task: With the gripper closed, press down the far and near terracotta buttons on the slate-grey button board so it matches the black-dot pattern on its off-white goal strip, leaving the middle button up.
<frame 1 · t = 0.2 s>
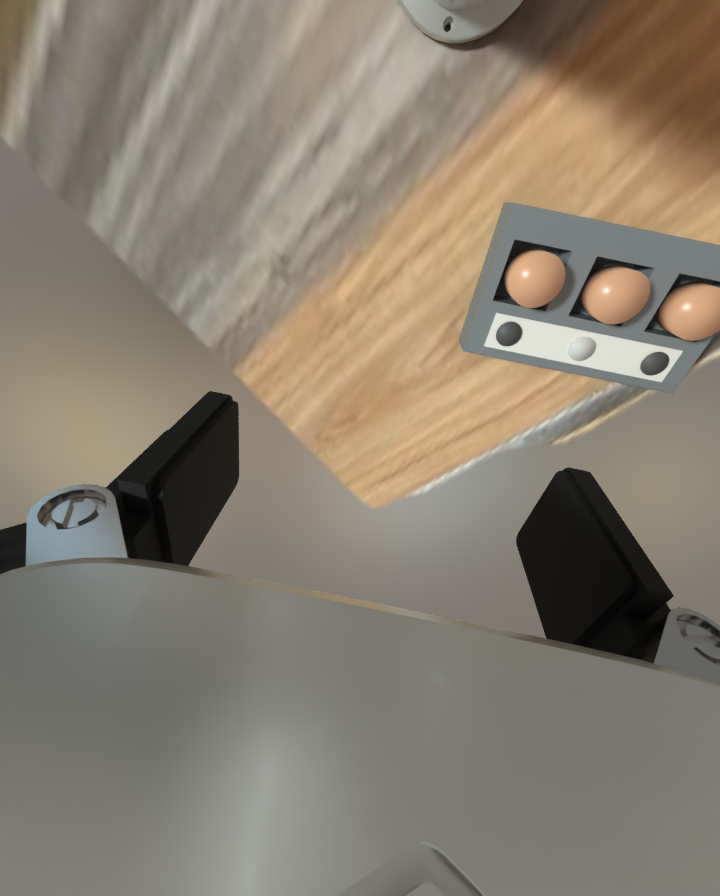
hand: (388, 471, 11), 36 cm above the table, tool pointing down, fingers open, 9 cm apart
button b: (613, 294, 36), point 5 cm above the table, slide at 0.0 cm
button a: (532, 278, 36), point 5 cm above the table, slide at 0.0 cm
button c: (693, 311, 36), point 5 cm above the table, slide at 0.0 cm
button board: (585, 299, 40), on the table
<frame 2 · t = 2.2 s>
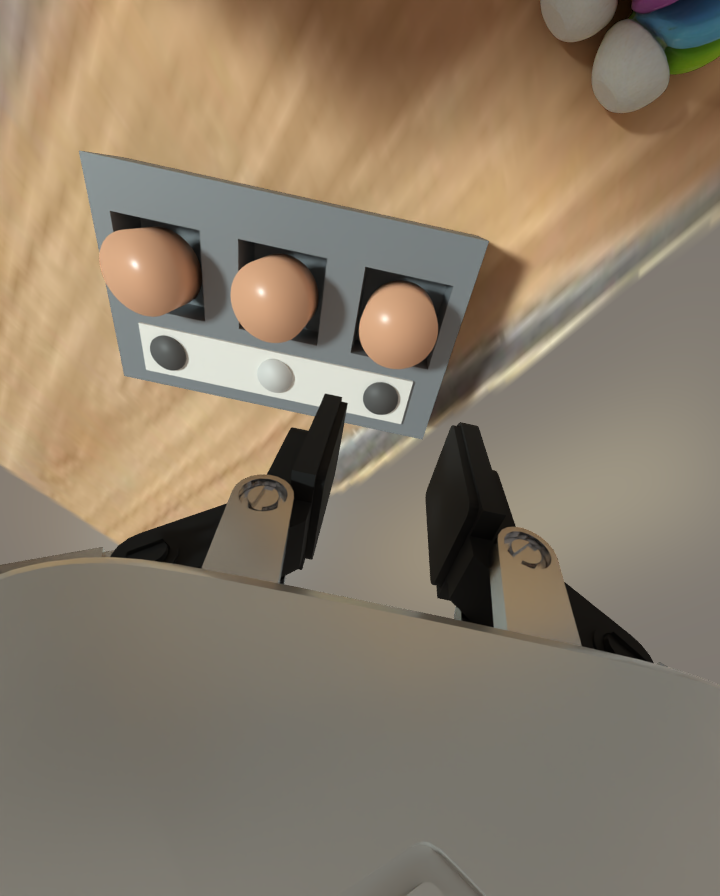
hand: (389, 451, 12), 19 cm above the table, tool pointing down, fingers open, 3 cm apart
button b: (276, 298, 24), point 5 cm above the table, slide at 0.0 cm
button a: (154, 271, 23), point 5 cm above the table, slide at 0.0 cm
button c: (398, 324, 24), point 5 cm above the table, slide at 0.0 cm
button board: (293, 305, 28), on the table
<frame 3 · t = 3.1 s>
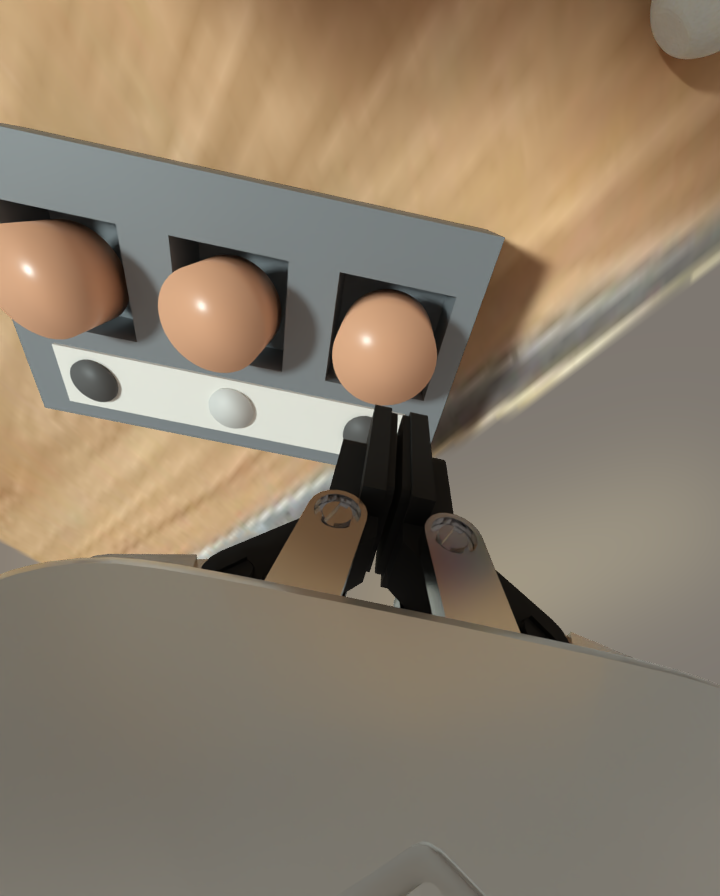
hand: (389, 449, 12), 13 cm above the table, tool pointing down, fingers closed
button b: (224, 314, 18), point 5 cm above the table, slide at 0.0 cm
button a: (59, 279, 18), point 5 cm above the table, slide at 0.0 cm
button c: (385, 347, 18), point 5 cm above the table, slide at 0.0 cm
button board: (255, 317, 23), on the table
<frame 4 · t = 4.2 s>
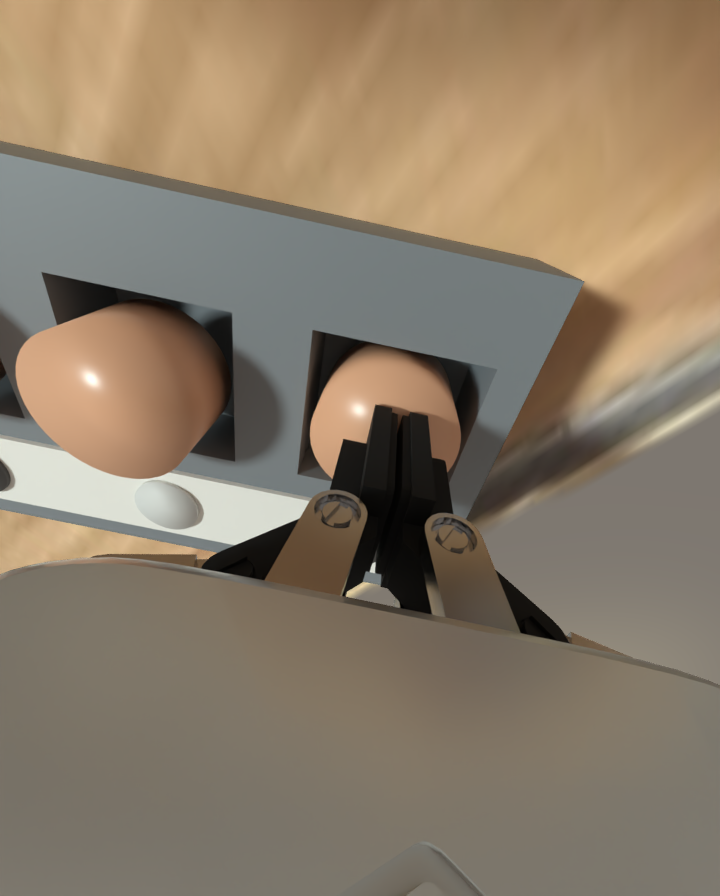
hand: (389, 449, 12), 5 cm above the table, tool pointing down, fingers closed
button b: (138, 389, 12), point 5 cm above the table, slide at 0.0 cm
button c: (385, 418, 13), point 3 cm above the table, slide at 1.5 cm, touching gripper
button board: (206, 373, 16), on the table
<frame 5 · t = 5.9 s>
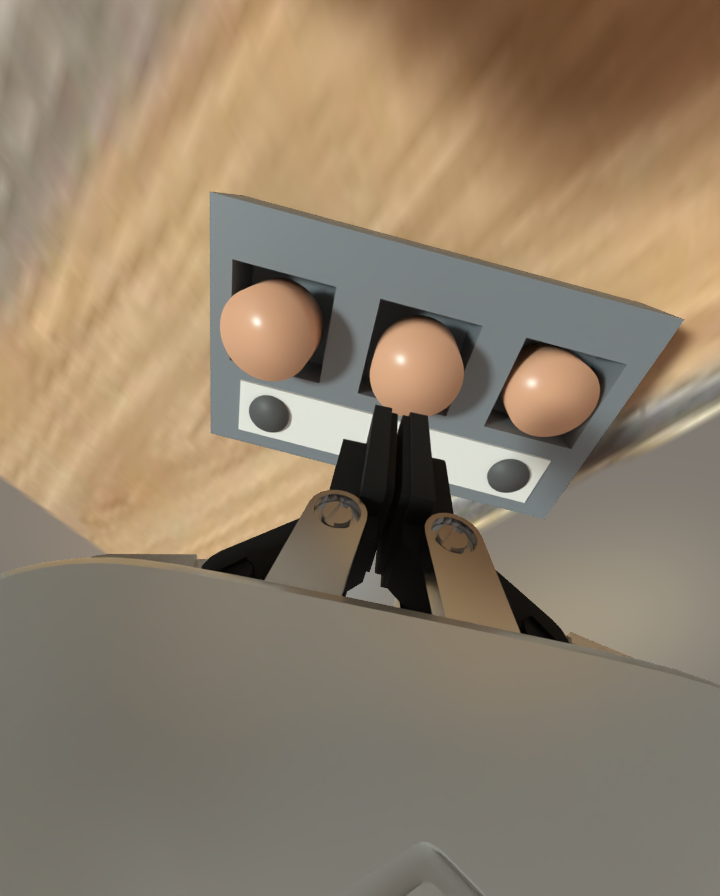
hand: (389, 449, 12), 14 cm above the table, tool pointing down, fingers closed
button b: (415, 366, 20), point 5 cm above the table, slide at 0.0 cm
button a: (275, 329, 20), point 5 cm above the table, slide at 0.0 cm
button c: (544, 389, 22), point 3 cm above the table, slide at 1.9 cm
button board: (408, 363, 25), on the table
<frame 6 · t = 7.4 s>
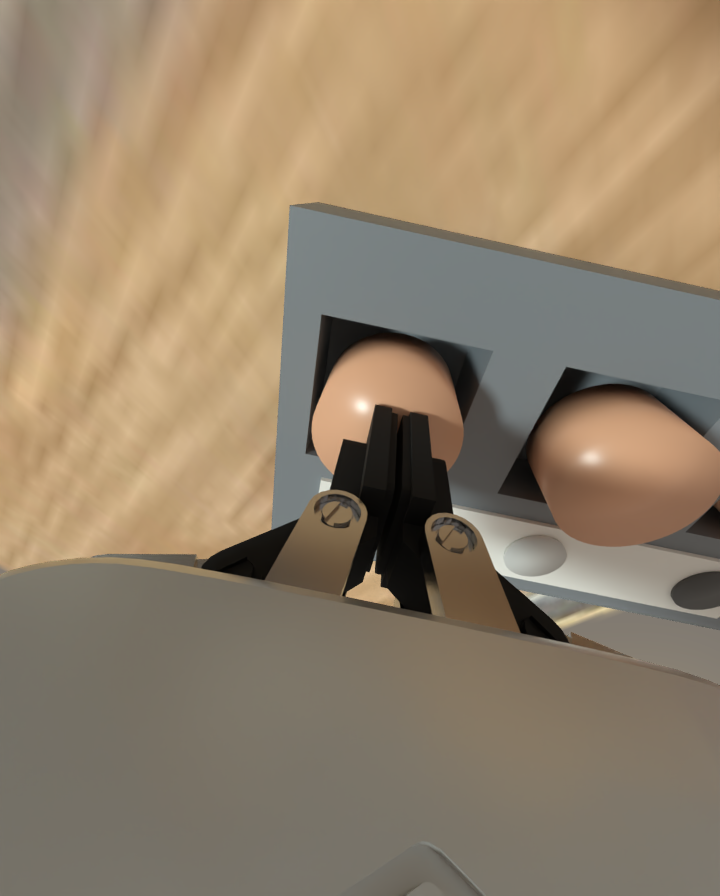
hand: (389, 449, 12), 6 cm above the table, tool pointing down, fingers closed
button b: (611, 465, 13), point 5 cm above the table, slide at 0.0 cm
button a: (387, 414, 13), point 4 cm above the table, slide at 0.3 cm, touching gripper
button board: (547, 429, 18), on the table
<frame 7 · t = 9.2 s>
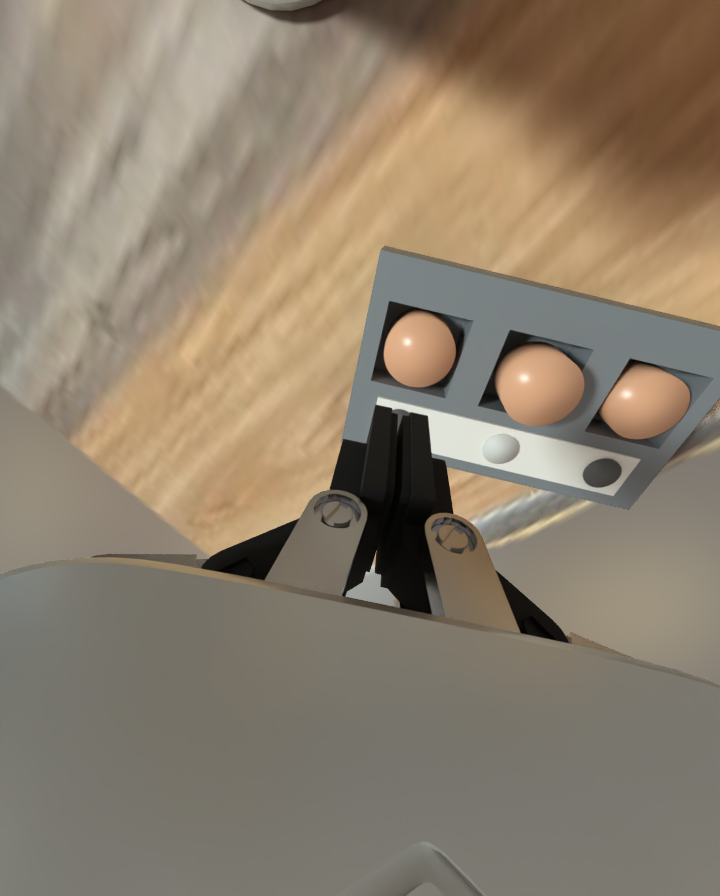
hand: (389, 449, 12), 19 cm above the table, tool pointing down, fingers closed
button b: (535, 383, 24), point 5 cm above the table, slide at 0.0 cm
button a: (418, 347, 26), point 3 cm above the table, slide at 1.9 cm
button c: (636, 399, 26), point 3 cm above the table, slide at 1.9 cm
button board: (510, 378, 29), on the table
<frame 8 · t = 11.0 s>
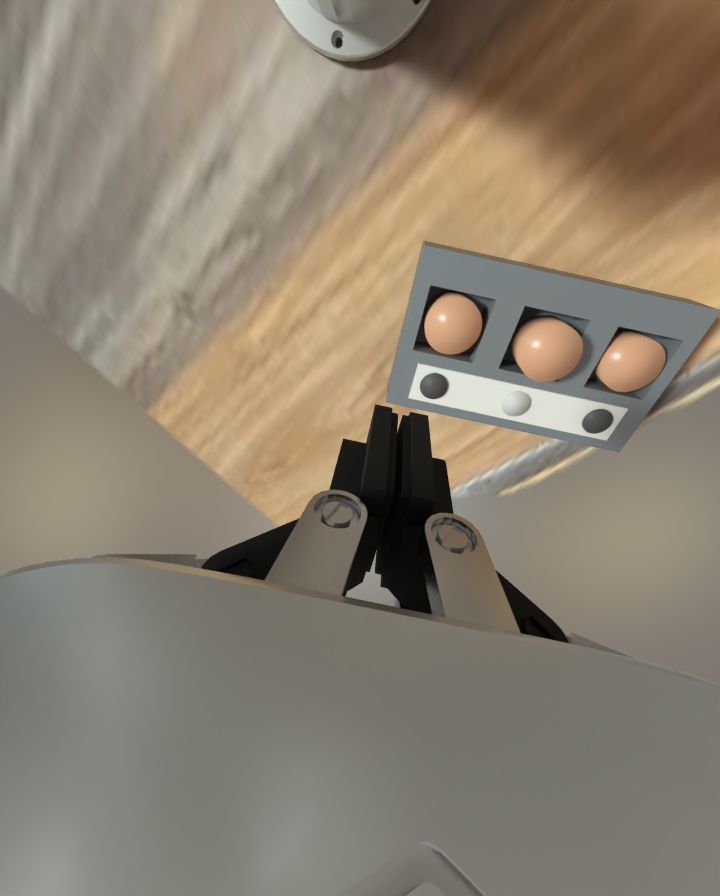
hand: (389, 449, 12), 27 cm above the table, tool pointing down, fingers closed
button b: (544, 348, 31), point 5 cm above the table, slide at 0.0 cm
button a: (451, 322, 33), point 3 cm above the table, slide at 1.9 cm
button c: (624, 360, 33), point 3 cm above the table, slide at 1.9 cm
button board: (522, 347, 36), on the table
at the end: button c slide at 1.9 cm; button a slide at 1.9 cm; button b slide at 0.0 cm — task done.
